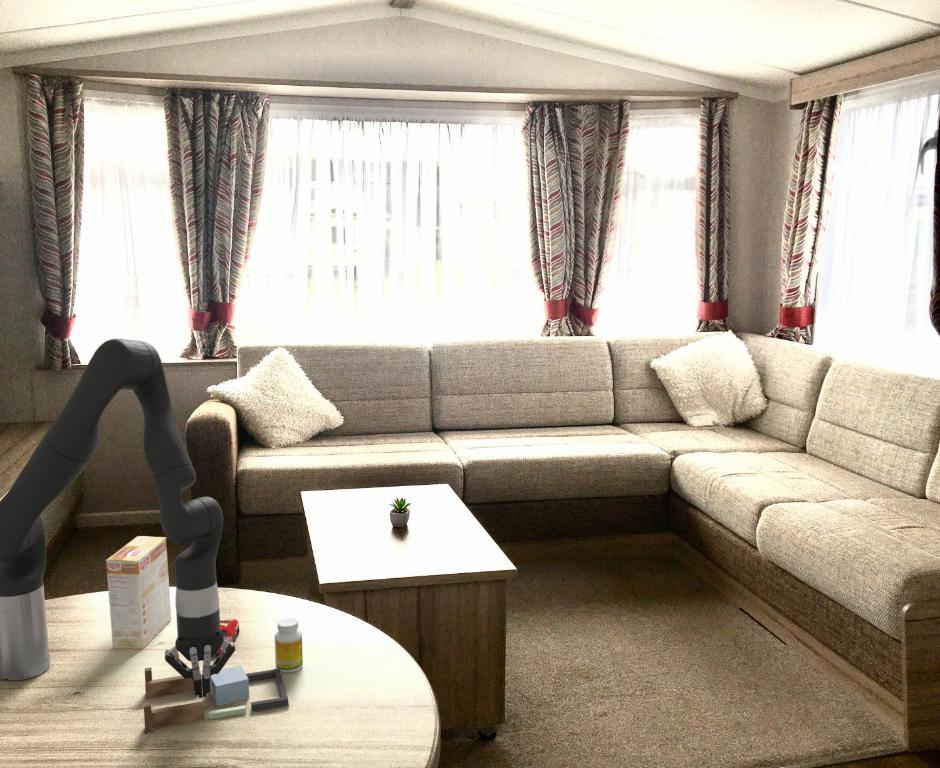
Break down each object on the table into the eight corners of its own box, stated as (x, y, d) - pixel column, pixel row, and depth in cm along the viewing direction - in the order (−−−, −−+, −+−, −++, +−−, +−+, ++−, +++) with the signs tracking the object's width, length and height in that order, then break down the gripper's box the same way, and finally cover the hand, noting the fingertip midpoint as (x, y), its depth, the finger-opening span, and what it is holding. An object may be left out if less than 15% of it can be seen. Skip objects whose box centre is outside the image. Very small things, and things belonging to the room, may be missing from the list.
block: (216, 706, 167) (215, 686, 166) (209, 692, 172) (208, 672, 171) (249, 698, 169) (248, 678, 169) (241, 684, 175) (240, 665, 174)
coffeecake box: (142, 618, 204) (136, 535, 201) (172, 619, 204) (167, 536, 200) (110, 648, 189) (104, 559, 186) (143, 649, 189) (137, 560, 186)
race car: (226, 659, 185) (225, 640, 185) (199, 658, 185) (198, 640, 185) (243, 630, 198) (242, 613, 198) (219, 630, 198) (218, 613, 198)
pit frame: (251, 712, 164) (251, 705, 164) (245, 680, 176) (245, 673, 175) (288, 706, 166) (288, 698, 166) (280, 675, 178) (279, 668, 178)
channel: (145, 733, 157) (143, 706, 156) (146, 693, 171) (144, 668, 170) (205, 723, 160) (203, 697, 160) (201, 684, 174) (200, 660, 173)
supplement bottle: (272, 664, 182) (271, 619, 181) (298, 658, 185) (297, 614, 183) (279, 675, 178) (277, 629, 176) (306, 670, 180) (304, 624, 178)
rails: (209, 719, 162) (209, 714, 162) (206, 686, 173) (205, 681, 173) (246, 713, 164) (246, 708, 164) (240, 681, 175) (240, 676, 175)
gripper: (159, 620, 159) (165, 712, 161) (236, 610, 163) (241, 699, 166) (159, 604, 166) (164, 692, 168) (233, 594, 170) (237, 680, 173)
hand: (202, 695), depth 167 cm, fingers closed
